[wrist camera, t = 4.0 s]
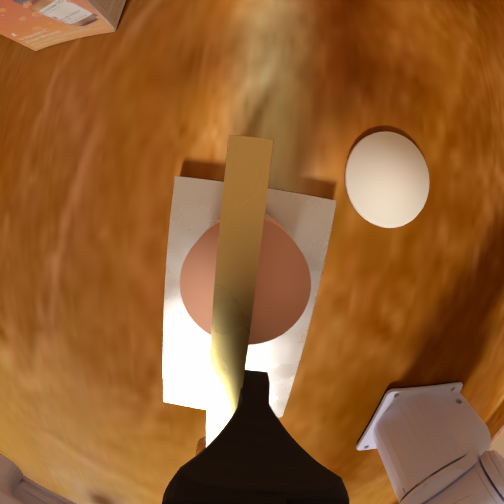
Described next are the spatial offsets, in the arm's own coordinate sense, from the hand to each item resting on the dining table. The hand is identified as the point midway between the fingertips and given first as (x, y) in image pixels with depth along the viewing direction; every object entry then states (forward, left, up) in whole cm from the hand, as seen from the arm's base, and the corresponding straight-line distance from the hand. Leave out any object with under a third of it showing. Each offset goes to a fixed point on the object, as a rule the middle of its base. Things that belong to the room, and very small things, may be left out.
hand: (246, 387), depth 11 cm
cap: (+1, -4, -4) cm, 6 cm away
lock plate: (+1, 0, -7) cm, 7 cm away
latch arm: (+1, -2, 0) cm, 2 cm away
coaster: (-7, -10, -7) cm, 14 cm away
